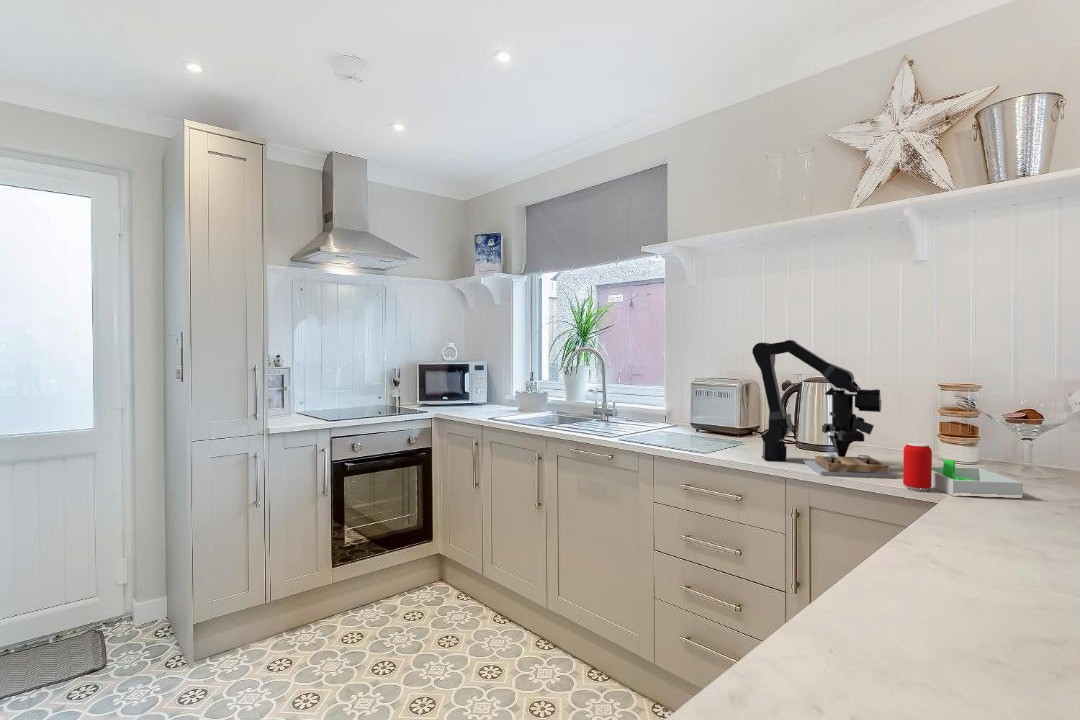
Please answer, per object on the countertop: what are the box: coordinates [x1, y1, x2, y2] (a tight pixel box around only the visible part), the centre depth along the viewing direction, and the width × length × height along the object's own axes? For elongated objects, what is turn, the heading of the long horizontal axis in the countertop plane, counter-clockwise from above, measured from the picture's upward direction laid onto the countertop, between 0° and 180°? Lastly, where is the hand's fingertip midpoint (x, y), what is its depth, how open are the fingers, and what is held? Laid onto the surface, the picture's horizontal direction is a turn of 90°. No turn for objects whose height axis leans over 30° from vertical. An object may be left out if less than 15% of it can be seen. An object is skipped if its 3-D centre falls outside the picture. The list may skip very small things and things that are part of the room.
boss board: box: [802, 453, 897, 479], centre depth 169 cm, size 20×18×4 cm
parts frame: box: [931, 466, 1024, 496], centre depth 146 cm, size 16×17×4 cm
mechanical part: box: [942, 458, 975, 481], centre depth 148 cm, size 12×6×8 cm, turn 137°
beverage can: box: [902, 442, 933, 492], centre depth 147 cm, size 6×6×12 cm
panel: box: [814, 455, 889, 473], centre depth 166 cm, size 16×12×2 cm
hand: (841, 459), depth 173 cm, fingers closed
